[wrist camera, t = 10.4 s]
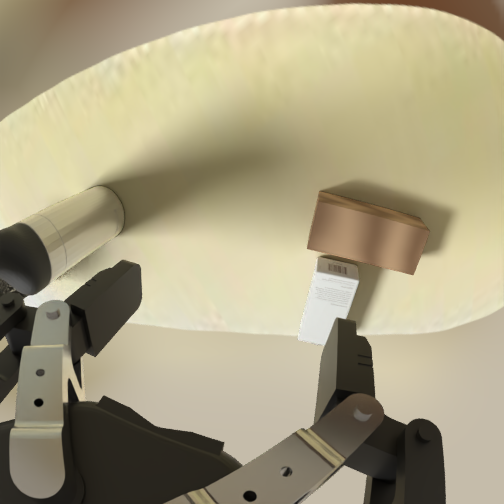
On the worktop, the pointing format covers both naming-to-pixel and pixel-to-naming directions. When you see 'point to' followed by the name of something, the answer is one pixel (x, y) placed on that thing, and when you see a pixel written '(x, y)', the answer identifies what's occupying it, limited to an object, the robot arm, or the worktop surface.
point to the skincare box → (327, 299)
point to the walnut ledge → (367, 233)
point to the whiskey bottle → (9, 288)
